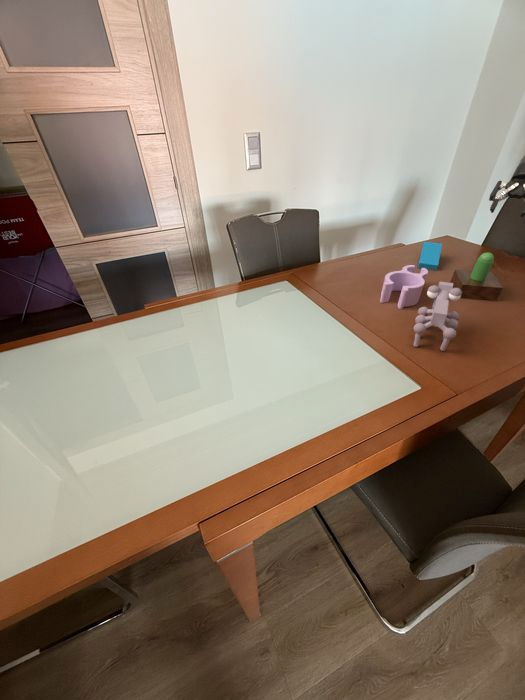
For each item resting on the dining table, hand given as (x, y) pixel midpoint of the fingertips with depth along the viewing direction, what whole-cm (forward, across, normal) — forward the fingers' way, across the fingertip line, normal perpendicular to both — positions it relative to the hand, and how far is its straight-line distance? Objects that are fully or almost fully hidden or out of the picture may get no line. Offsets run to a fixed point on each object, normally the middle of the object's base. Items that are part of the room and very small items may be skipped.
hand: (506, 213), depth 101 cm
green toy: (+22, +1, +4) cm, 22 cm away
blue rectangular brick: (+13, -20, +20) cm, 31 cm away
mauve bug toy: (+50, -2, -17) cm, 52 cm away
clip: (+38, -17, -5) cm, 42 cm away
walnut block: (+26, +1, +7) cm, 27 cm away
